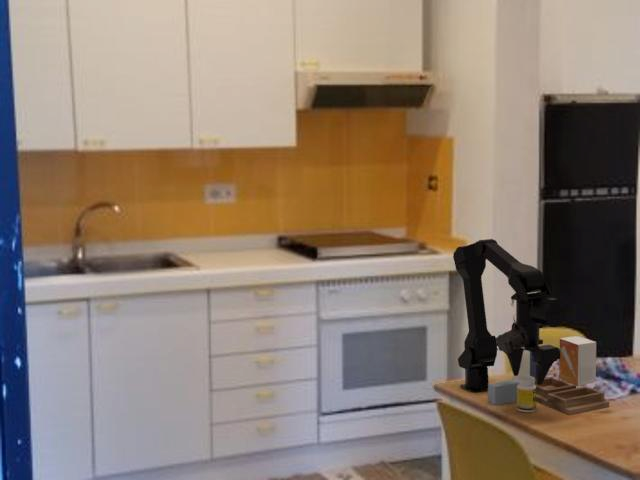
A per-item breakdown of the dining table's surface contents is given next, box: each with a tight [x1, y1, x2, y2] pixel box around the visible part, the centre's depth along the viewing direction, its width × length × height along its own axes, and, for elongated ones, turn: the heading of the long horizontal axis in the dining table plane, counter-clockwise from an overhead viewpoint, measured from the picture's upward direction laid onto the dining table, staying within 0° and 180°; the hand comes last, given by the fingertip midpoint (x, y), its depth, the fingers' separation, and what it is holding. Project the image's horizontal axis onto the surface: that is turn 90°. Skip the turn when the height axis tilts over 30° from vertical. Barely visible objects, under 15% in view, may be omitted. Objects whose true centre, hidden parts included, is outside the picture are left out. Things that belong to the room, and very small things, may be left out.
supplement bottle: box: [516, 376, 537, 413], centre depth 226 cm, size 5×5×8 cm
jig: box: [534, 376, 610, 416], centre depth 233 cm, size 20×13×3 cm, turn 26°
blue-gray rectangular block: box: [487, 379, 519, 406], centre depth 234 cm, size 3×9×5 cm, turn 115°
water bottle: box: [510, 298, 541, 380], centre depth 248 cm, size 8×9×25 cm
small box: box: [558, 335, 597, 387], centre depth 245 cm, size 8×6×13 cm
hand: (527, 380), depth 225 cm, fingers open, 9 cm apart
